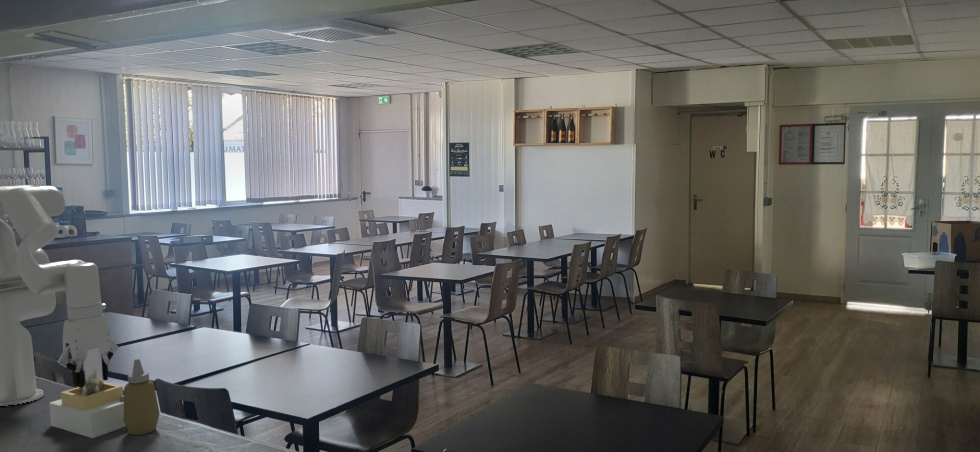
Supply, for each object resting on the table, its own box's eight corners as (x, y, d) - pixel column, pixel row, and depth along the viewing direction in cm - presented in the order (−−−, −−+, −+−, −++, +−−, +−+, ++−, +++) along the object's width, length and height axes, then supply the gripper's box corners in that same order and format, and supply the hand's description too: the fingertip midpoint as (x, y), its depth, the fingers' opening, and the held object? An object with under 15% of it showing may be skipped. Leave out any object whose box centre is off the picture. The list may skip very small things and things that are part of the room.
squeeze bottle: (146, 438, 176) (140, 364, 174) (117, 436, 178) (110, 363, 176) (167, 425, 184) (162, 355, 182) (139, 424, 186) (133, 354, 184)
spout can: (75, 395, 185) (70, 339, 184) (96, 389, 190) (91, 334, 188) (88, 398, 182) (82, 341, 181) (109, 392, 187) (104, 336, 186)
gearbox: (51, 425, 186) (47, 391, 186) (97, 410, 197) (94, 377, 196) (92, 438, 177) (89, 401, 176) (138, 421, 187) (135, 387, 187)
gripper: (108, 304, 193) (114, 371, 195) (41, 318, 179) (48, 391, 180) (126, 306, 189) (132, 375, 191) (58, 321, 175) (65, 395, 177)
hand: (91, 382), depth 186 cm, fingers closed on spout can, 5 cm apart
